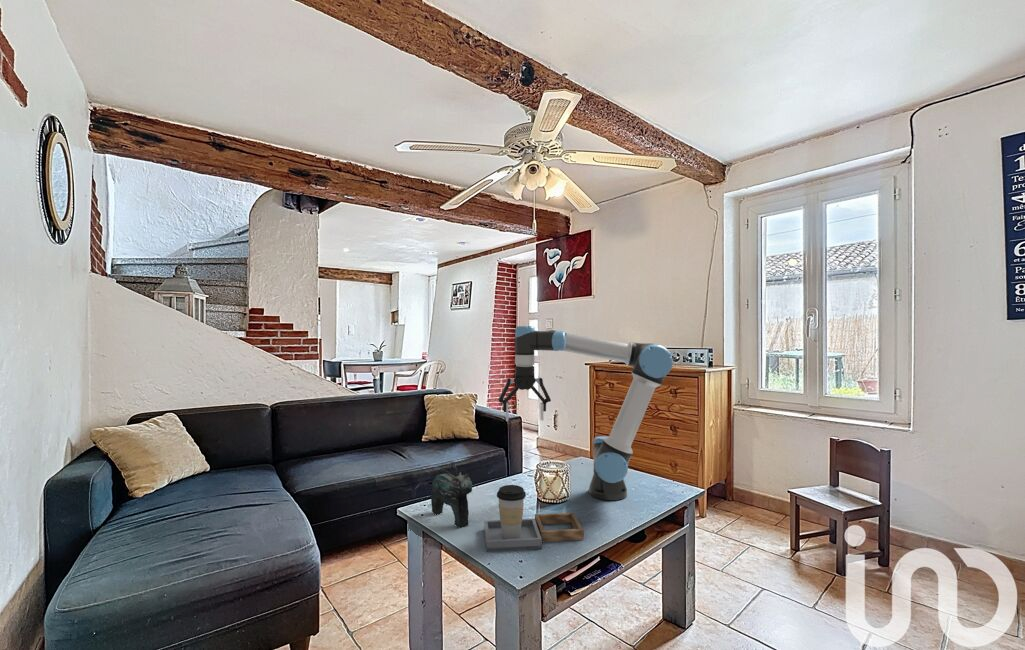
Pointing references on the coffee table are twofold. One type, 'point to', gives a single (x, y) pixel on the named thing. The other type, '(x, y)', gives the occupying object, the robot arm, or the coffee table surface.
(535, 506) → the coffee table surface
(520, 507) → the coffee cup
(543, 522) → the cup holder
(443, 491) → the dark green textured figure
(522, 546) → the tray
